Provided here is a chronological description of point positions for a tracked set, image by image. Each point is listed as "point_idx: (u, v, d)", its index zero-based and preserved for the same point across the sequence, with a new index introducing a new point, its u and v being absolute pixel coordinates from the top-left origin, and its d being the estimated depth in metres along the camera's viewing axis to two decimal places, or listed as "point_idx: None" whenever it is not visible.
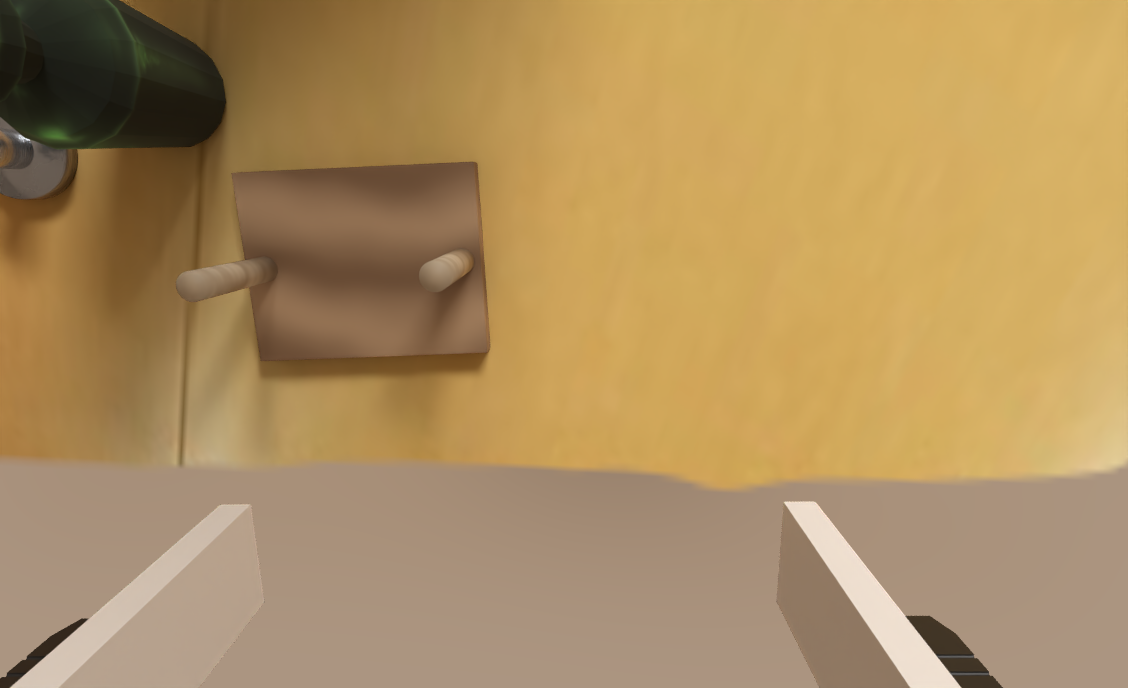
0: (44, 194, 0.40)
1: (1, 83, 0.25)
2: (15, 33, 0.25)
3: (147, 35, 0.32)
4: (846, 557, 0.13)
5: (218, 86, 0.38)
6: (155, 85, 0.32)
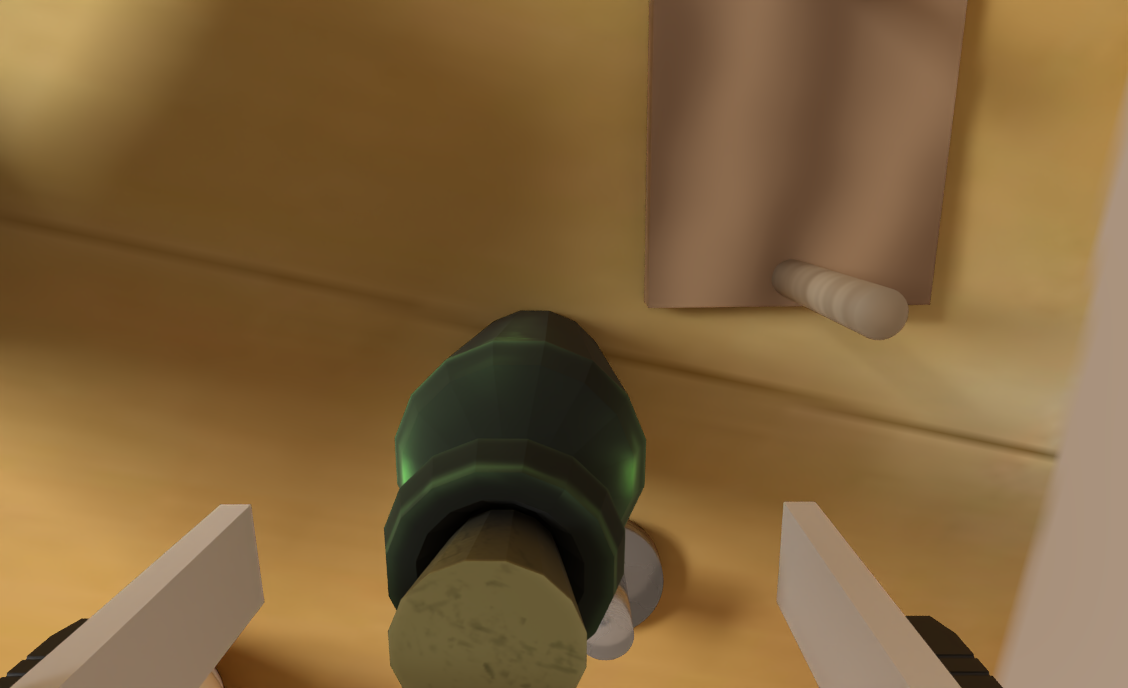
0: (658, 559, 0.31)
1: (586, 485, 0.14)
2: (505, 446, 0.14)
3: (479, 341, 0.21)
4: (846, 557, 0.13)
5: (530, 312, 0.28)
6: (550, 336, 0.21)
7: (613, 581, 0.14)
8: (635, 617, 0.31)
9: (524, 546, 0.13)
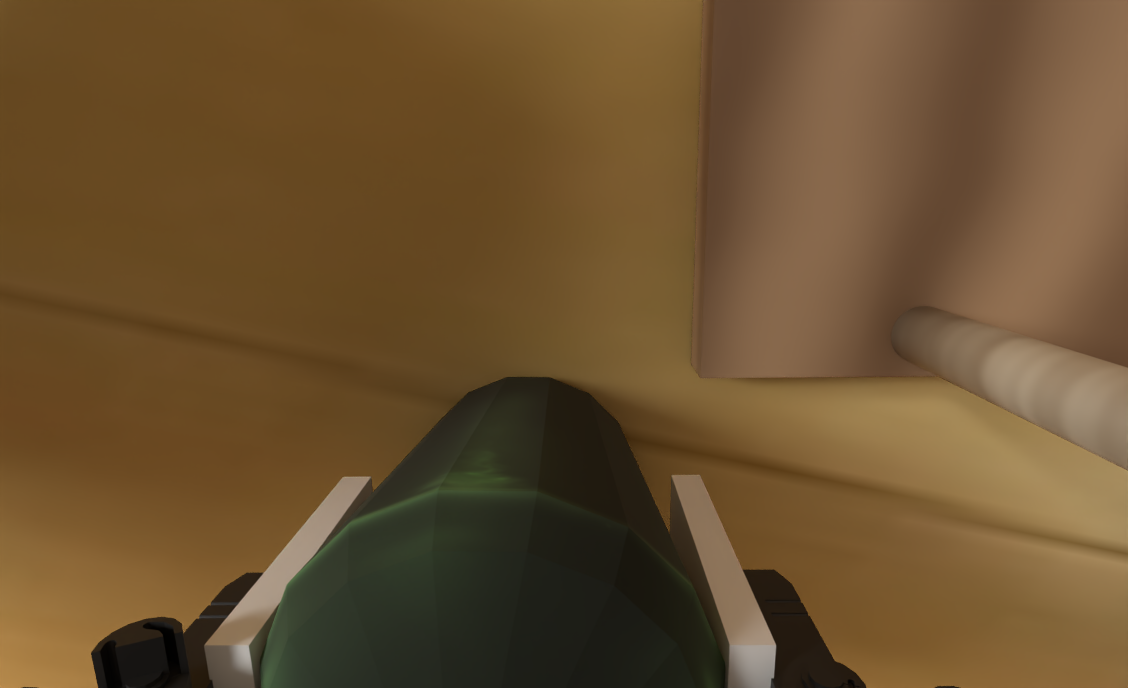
0: None
1: None
2: None
3: (422, 468, 0.12)
4: (709, 520, 0.14)
5: (521, 382, 0.18)
6: (548, 464, 0.12)
7: None
8: None
9: None
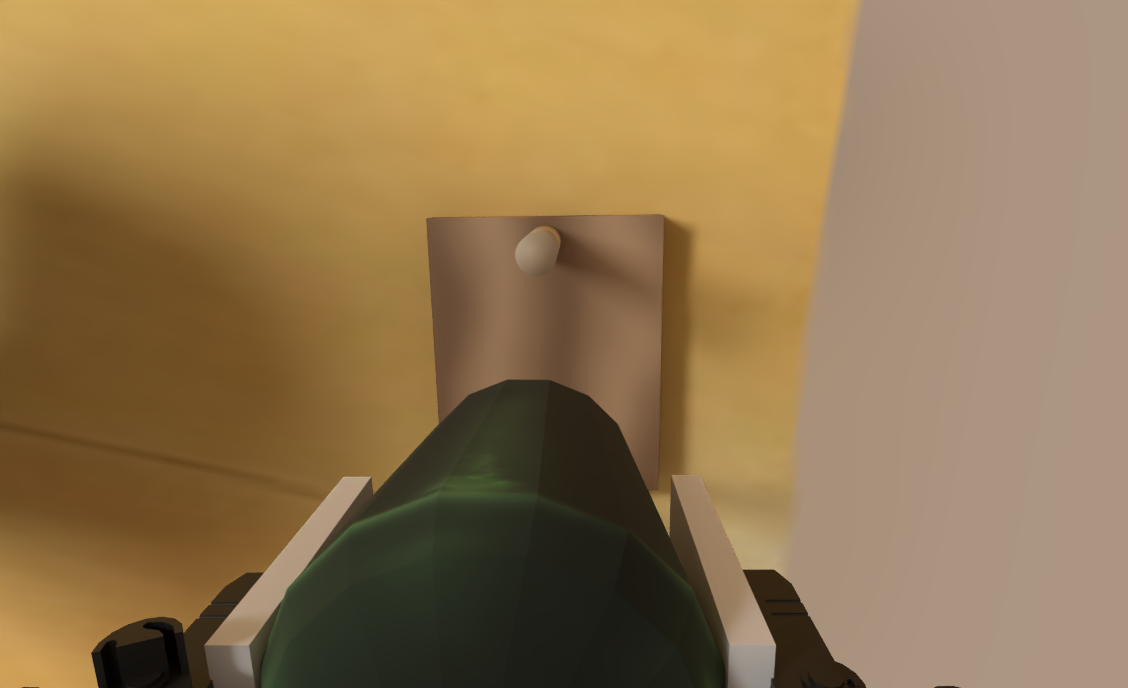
0: None
1: None
2: None
3: (423, 471, 0.12)
4: (708, 520, 0.14)
5: (521, 384, 0.18)
6: (548, 468, 0.12)
7: None
8: None
9: None
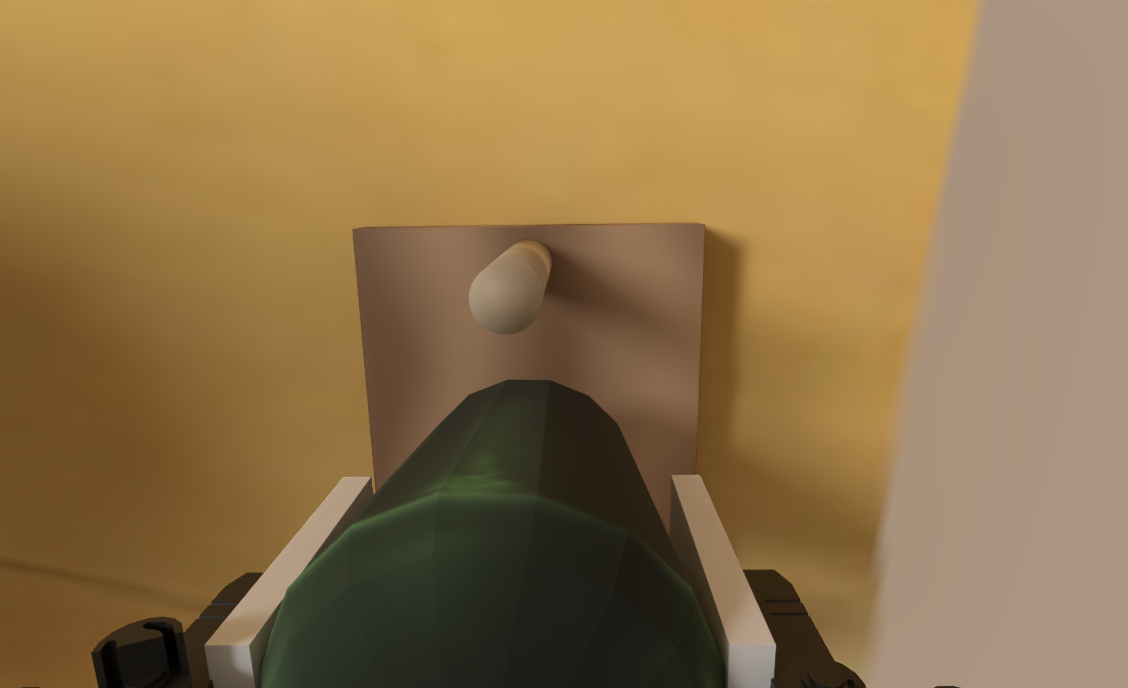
0: None
1: None
2: None
3: (423, 471, 0.12)
4: (708, 520, 0.14)
5: (521, 384, 0.18)
6: (548, 468, 0.12)
7: None
8: None
9: None
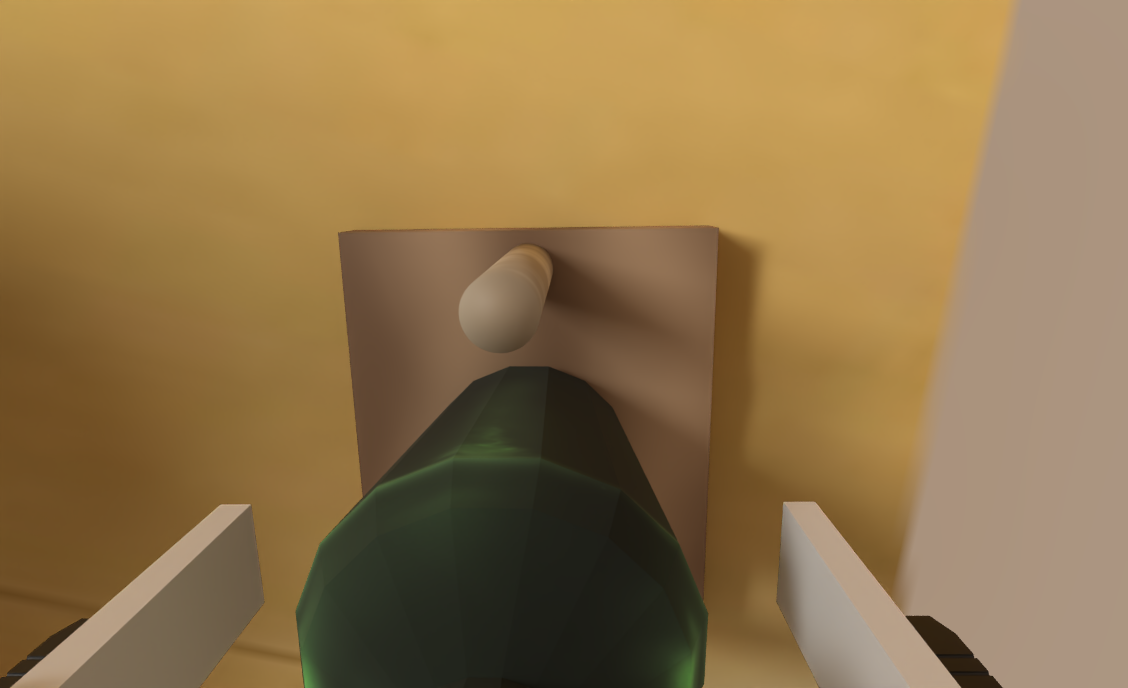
0: None
1: None
2: None
3: (437, 443, 0.13)
4: (846, 557, 0.13)
5: (522, 370, 0.20)
6: (549, 437, 0.13)
7: None
8: None
9: None
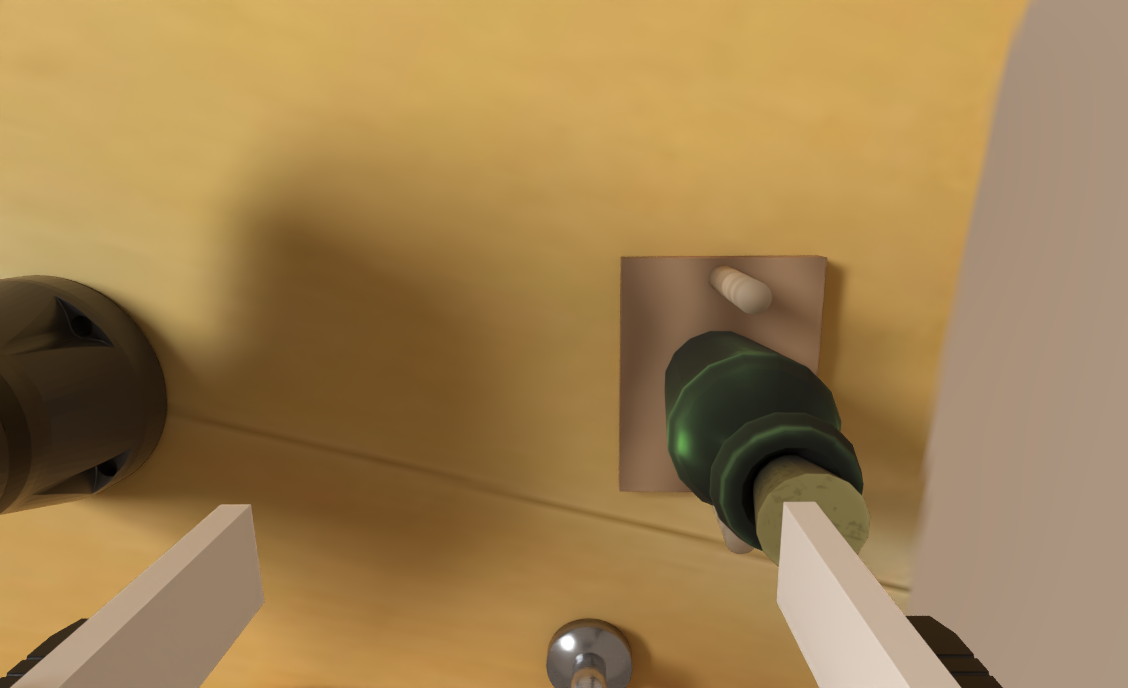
0: (629, 653, 0.44)
1: (843, 441, 0.24)
2: (794, 417, 0.24)
3: (718, 353, 0.31)
4: (846, 557, 0.13)
5: (720, 332, 0.37)
6: (770, 350, 0.31)
7: None
8: None
9: (825, 470, 0.22)
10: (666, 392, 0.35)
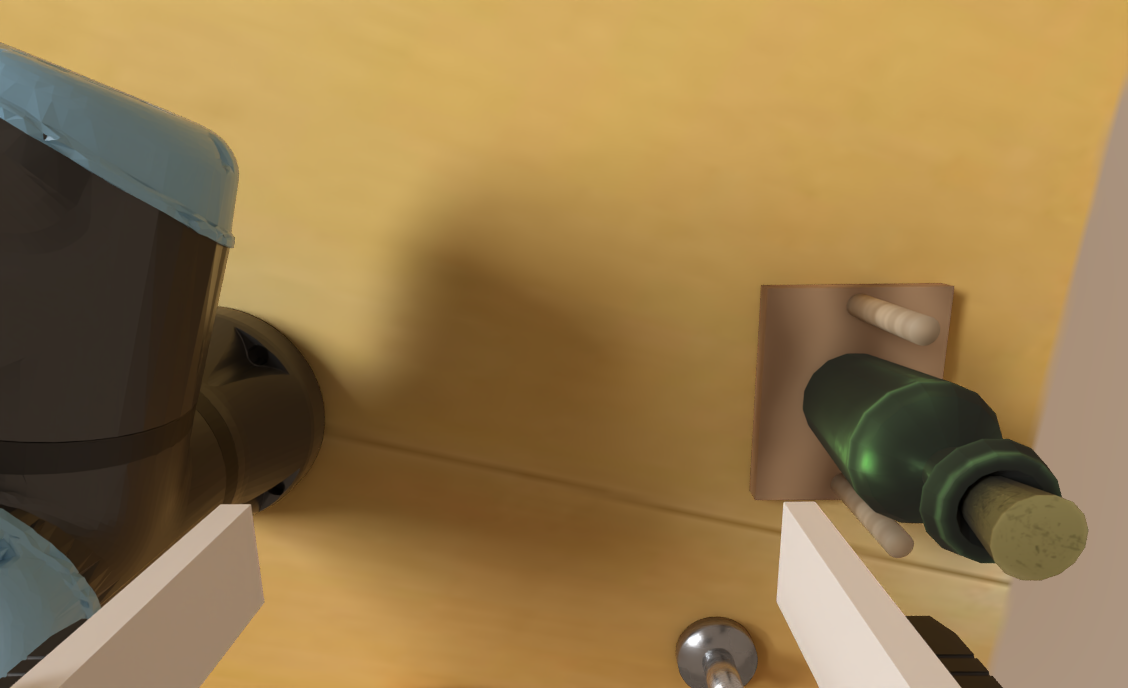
0: (754, 647, 0.48)
1: (1043, 463, 0.28)
2: (1001, 443, 0.28)
3: (887, 380, 0.35)
4: (846, 557, 0.13)
5: (858, 355, 0.41)
6: (936, 377, 0.34)
7: None
8: None
9: None
10: (821, 412, 0.39)
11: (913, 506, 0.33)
